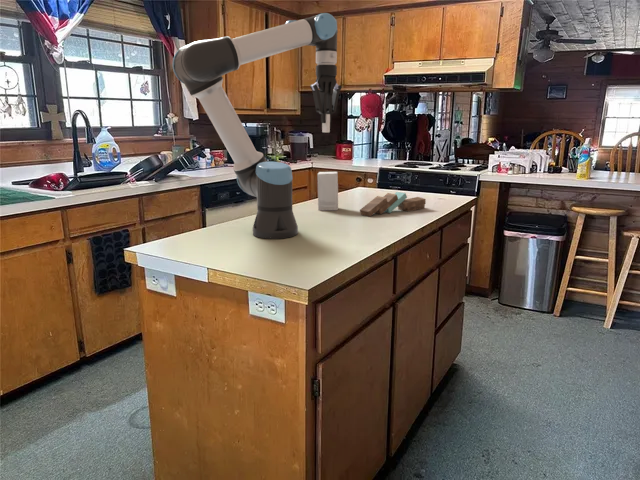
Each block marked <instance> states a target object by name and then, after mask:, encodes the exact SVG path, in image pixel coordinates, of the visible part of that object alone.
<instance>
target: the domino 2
mask: <svg viewBox="0 0 640 480" xmlns="http://www.w3.org/2000/svg"><path fill="white" fill-rule="evenodd" d="M383 197H386V198H387V201H388V202H387V203H386V204H385V205H384V206H382V207H381V208H380V209H379V210H378V211H376V212H375V213H374V214H377V215H382V214H383V213H385V212H384V211H385V210H387V209H388V208H389V207H390V206H391V205H392V204H393V203H394V202H395V201H396V200H397V199H398V197H397V194H395V193H390V192H387V193H386V194H385V195H384V196H383Z"/></svg>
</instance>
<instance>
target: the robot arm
mask: <svg viewBox="0 0 640 480" xmlns="http://www.w3.org/2000/svg"><path fill="white" fill-rule="evenodd" d="M304 46H311V47H315V64H316V66H315V76H316V80H315V82H314V83H312V84H310V86H309V87H310V90H311V91H312V95H313V102H314V105H315V106H314V107H315V111H316V113H318V114H319V115H320V123H321V130H322V131H321V132H322V133H330V132H331V130H330V129H331V123H332V115H333V114H334V113H336V111H337V108H338V101H339V96H340V92H341V90H342V88H343V87H342V85H339V84H338V83H337V81H338V80H337V78H336V77H337V73H338V71H337V70H338V66H337V65H336V64H337V62H338V58H337V57H338V50H337V49H338V20H337V19H336V17H334V16H333V14H330V13H328V12H323V13H318V14H317V15H313V16H310V17H305V18H303V19H299V20H298V19H297V20H296V19H294V20H291V19H288V20H286V22H285V23H283V24H279V25H277V26H273V27H269V28H266V29H263V30H259V31H255V32H251V33H248V34H244V35H241V36H236V37H235V38H234V37H233V38H231V37H230V36H228V35H226V36H222V37H219V38H211V39H202V40H197V41H193V42H190V43H189V44H186V45H183V46H182V47H180V48H179V49H178V50H177V51H176V52H175V54H174V56H173V58H172V64H171V65H172V70H173V73H174V75H175V77H176V79H178V81H180V83H182V84H183V85H184V86H185V87H186V89H187V92H189V95H190V96H191V97H193V98H196V99H198V101H199V102H200V104H201V106H202V107H203V110H204V112H205V113H206V115H207V117H208V119H209V120H210V122H211V124H212V125H213V127H214V129H215V131H216V133H217V134H218V136H219V138H220V140H221V142H222V144H224V147H225V148H226V150H227V152H228V153H229V155H230V157H231V159H232V161H233V167H232V170H233V171H234V174H235V175H236V181H237V185H238V186H239V188H240V189H241V190H242V191H243V192H244V193H246V194H247V195H248V196H251V197H255V198H256V207H257V208H256V210H257V211H256V214H255V218H254V222H253V224H252V225H253V226H252V235H253V236H254V237H257V238H261V239H268V240H269V239H270V240H276V239H279V240H280V239H287V238H292V237H294V236H297V235H298V234H299V227H298V224H297V220H296V218H295V215H294V212H293V179H294V177H293V171H292V170H293V169H292V167H291V166H290V165H289V164H288V163H285V162H279V161H268V160H267V159H266V157H265V155H264V153H263V152H261V151H257V150H256V148H255V146H254V144H253V142H252V140H251V138H250V137H249V134H248V132H247V130H246V129H245V127H244V125H243V123H242V121H241V119H240V118H239V115H238V113H237V112H236V110H235V108H234V106H233V105H232V103H231V101H230V99H229V97H228V95H227V93H226V91H225V90H224V88H223V83H224V77H223V76H225V75H226V74H229V73H231V72H235V71H237V70H239V69H240V67H241V66H242V65H245V64H248V63H252V62H256V61H259V60H263V59H265V58H268V57H271V56H275V55H278V54H281V53H284V52H287V51H291V50H294V49H298V48H301V47H304Z"/></svg>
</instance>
